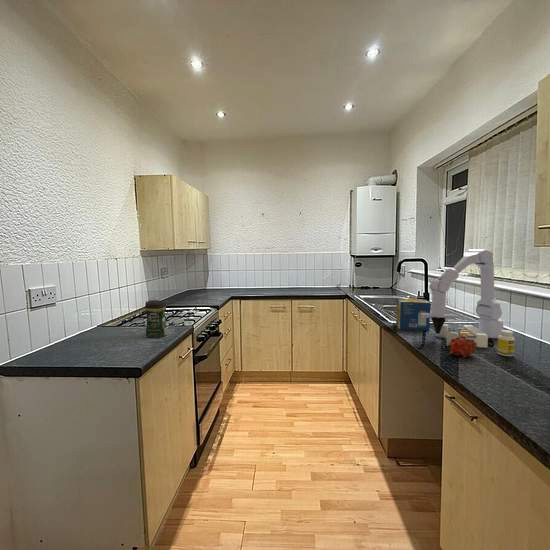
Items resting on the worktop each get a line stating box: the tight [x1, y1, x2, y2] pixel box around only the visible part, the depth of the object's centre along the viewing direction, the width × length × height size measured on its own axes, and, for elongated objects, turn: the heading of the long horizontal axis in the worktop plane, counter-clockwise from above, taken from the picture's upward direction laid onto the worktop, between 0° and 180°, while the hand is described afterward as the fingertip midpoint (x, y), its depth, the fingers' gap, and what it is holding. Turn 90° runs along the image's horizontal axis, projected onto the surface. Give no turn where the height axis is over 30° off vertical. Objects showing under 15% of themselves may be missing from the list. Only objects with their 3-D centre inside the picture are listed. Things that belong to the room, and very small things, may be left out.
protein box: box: [395, 298, 431, 332], centre depth 168 cm, size 10×15×16 cm
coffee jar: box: [144, 299, 168, 339], centre depth 156 cm, size 10×8×19 cm
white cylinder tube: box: [437, 323, 449, 339], centre depth 152 cm, size 4×4×6 cm
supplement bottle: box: [496, 329, 515, 357], centre depth 126 cm, size 5×5×10 cm
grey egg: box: [446, 330, 460, 347], centre depth 138 cm, size 4×4×6 cm
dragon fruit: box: [446, 336, 478, 358], centre depth 125 cm, size 8×8×12 cm
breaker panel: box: [456, 324, 489, 348], centre depth 144 cm, size 7×18×6 cm, turn 166°
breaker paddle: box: [459, 331, 471, 336], centre depth 143 cm, size 4×2×1 cm, turn 76°
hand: (437, 333), depth 146 cm, fingers closed
